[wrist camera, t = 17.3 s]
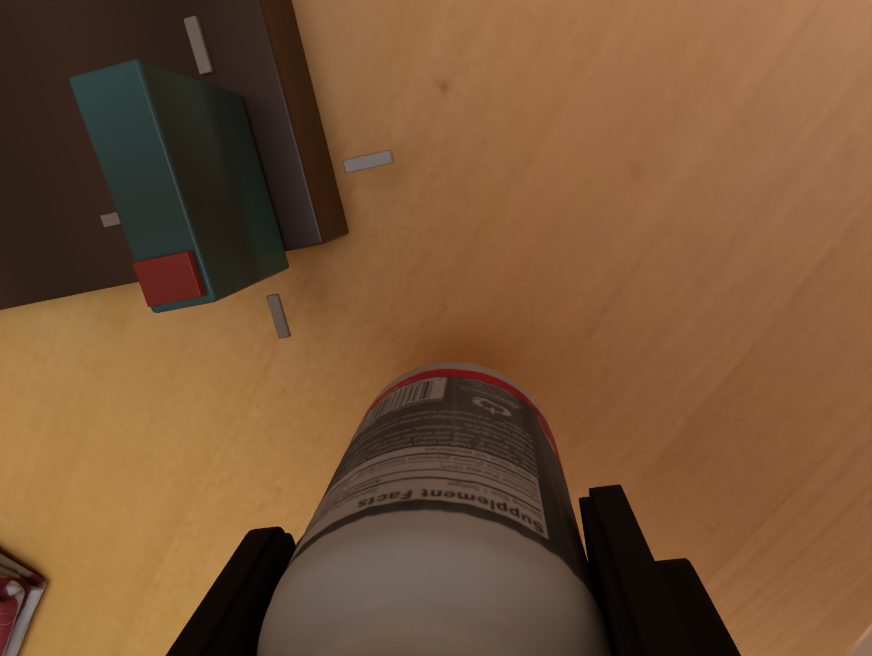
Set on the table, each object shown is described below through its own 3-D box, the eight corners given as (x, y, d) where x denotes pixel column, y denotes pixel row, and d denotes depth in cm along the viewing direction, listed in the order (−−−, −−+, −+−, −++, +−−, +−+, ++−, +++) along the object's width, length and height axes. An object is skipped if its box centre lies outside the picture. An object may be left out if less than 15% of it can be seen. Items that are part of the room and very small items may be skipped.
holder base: (274, -479, 13) (211, -676, 10) (435, 290, 18) (425, 312, 15) (-333, -222, 16) (-523, -314, 13) (-43, 378, 21) (-130, 411, 18)
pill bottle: (543, 538, 15) (647, 1164, 5) (360, 520, 15) (161, 1073, 6) (566, 363, 13) (765, 814, 4) (361, 348, 14) (92, 722, 4)
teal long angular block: (189, 106, 14) (55, 74, 10) (241, 93, 14) (128, 53, 10) (242, 277, 16) (144, 317, 11) (290, 268, 16) (210, 304, 11)
